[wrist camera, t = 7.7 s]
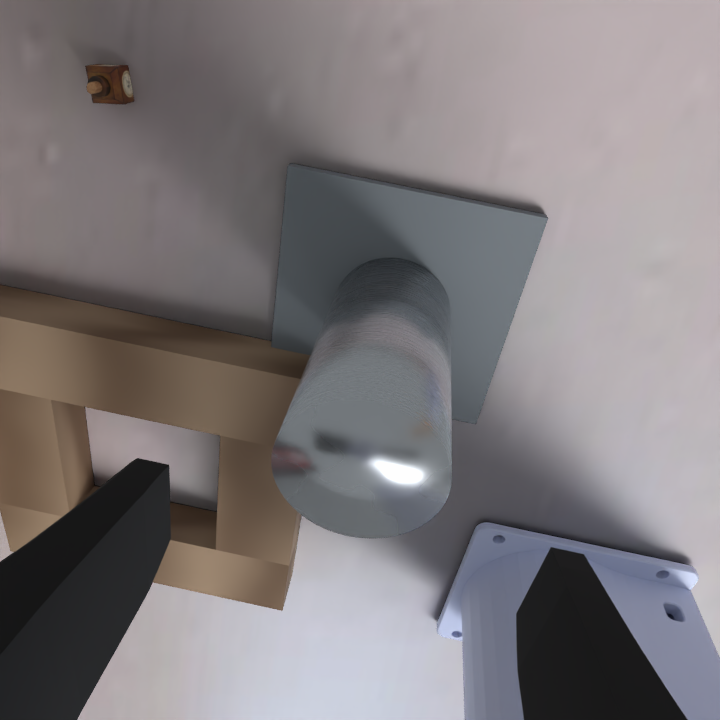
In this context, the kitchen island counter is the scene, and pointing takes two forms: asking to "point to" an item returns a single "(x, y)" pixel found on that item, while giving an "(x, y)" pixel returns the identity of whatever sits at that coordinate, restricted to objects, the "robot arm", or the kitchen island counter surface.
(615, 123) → the kitchen island counter surface
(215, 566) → the pocket block
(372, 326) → the peg
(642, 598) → the robot arm
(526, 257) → the grey square plate
